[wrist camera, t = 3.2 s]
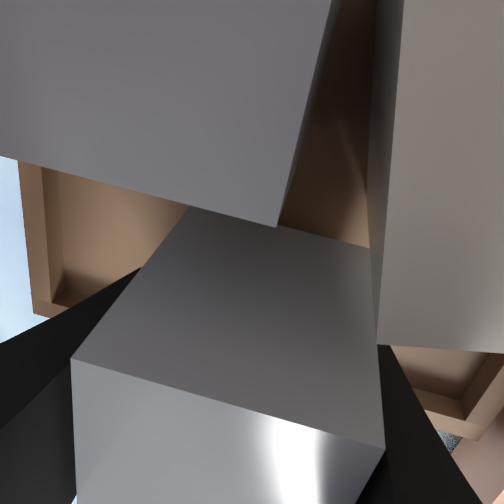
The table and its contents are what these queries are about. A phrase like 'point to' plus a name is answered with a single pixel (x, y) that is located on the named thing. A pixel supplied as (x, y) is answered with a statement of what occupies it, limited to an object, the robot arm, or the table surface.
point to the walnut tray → (292, 216)
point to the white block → (437, 174)
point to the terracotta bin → (484, 462)
